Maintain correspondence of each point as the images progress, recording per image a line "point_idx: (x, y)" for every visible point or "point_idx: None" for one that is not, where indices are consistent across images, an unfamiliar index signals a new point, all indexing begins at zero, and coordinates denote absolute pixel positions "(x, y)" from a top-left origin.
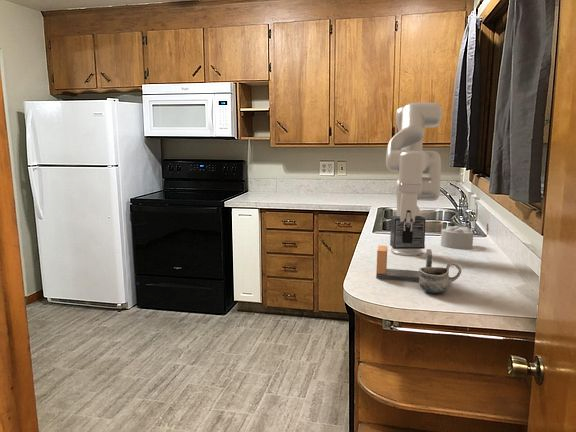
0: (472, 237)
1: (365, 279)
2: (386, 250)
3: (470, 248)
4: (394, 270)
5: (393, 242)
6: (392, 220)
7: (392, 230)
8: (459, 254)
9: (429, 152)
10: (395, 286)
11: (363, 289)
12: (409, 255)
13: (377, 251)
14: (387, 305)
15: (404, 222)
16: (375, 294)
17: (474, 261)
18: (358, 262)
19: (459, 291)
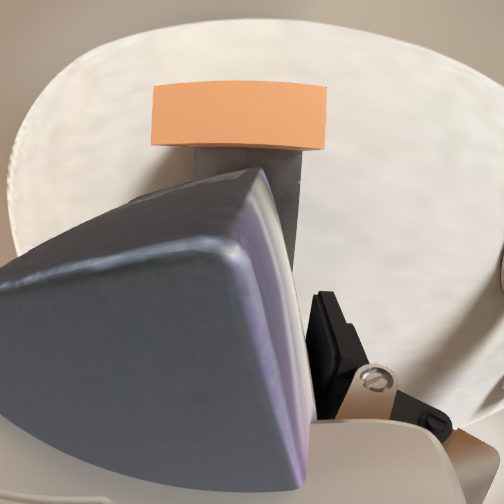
0: None
1: (180, 75)
2: (176, 143)
3: (501, 387)
4: (277, 186)
5: (132, 202)
6: (37, 254)
7: (125, 208)
8: (481, 376)
9: None
10: (125, 191)
11: (79, 97)
12: (502, 261)
13: (156, 88)
14: (9, 185)
15: None
16: (51, 142)
17: None
18: (422, 58)
19: None
